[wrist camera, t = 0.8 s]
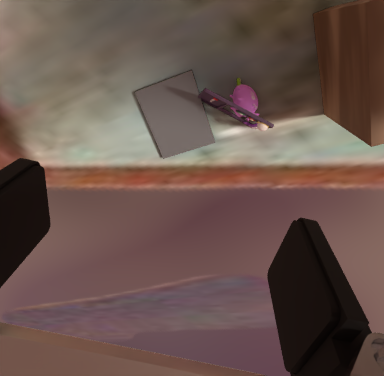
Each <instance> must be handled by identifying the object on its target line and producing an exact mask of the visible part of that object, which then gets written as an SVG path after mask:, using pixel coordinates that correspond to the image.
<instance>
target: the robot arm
mask: <svg viewBox="0 0 384 376" xmlns="http://www.w3.org/2000/svg"><path fill="white" fill-rule="evenodd" d="M49 228H50V216H49V207H48V198H47V189H46V180H45V171H44V168H43V167H42V166H40V164H39V162H37V161H32V160H28V159H23V158H20V159H17V160H16V161H14V162H13V163H11V164H10V165H8V166H6V167H5V168H3V169H2V170H0V288H1V286H2V285H3V284H4V283H5V282H6V281H7V279H8V278H9V277H10V276H11V275H12V274H13V272H14V271H15V270H16V269H17V268H18V267H19V265H20V264H21V263H22V262H23V261H24V260H25V258H26V257H27V256H28V255H29V254H30V253H31V251H32V250H33V249H34V248H35V247H36V245H37V244H38V243H39V242H40V241H41V240H42V238H43V237H44V236H45V235H46V234H47V232H48V231H49ZM268 283H269V288H270V293H271V298H272V304H273V309H274V314H275V319H276V324H277V329H278V334H279V340H280V345H281V350H282V355H283V360H284V365H285V368H286V370H287V371H288V372H290V374H291V376H384V334H382V333H372V332H371V330H370V328H369V326H368V324H369V322H368V320H367V318H366V316H365V314H364V312H363V310H362V308H361V306H360V304H359V302H358V300H357V298H356V296H355V294H354V292H353V290H352V288H351V286H350V285H349V282H348V281H347V279H346V277H345V275H344V273H343V271H342V269H341V267H340V265H339V263H338V261H337V259H336V257H335V255H334V253H333V251H332V249H331V247H330V245H329V244H328V241H327V239H326V238H325V236H324V234H323V232H322V230H321V228H320V226H319V224H318V222H317V221H314V220H309V219H305V218H299V219H298V220H297V221H296V220H294V221H293V222H292V224H291V226H290V228H289V230H288V232H287V234H286V236H285V238H284V240H283V242H282V244H281V246H280V248H279V250H278V252H277V254H276V256H275V258H274V260H273V262H272V264H271V266H270V268H269V270H268ZM0 376H265V375H262V374H257V373H252V372H247V371H242V370H237V369H232V368H228V367H223V366H217V365H213V364H208V363H203V362H198V361H193V360H188V359H184V358H179V357H174V356H169V355H164V354H159V353H154V352H149V351H143V350H139V349H133V348H129V347H124V346H119V345H114V344H109V343H104V342H99V341H94V340H89V339H84V338H79V337H73V336H68V335H63V334H58V333H53V332H48V331H43V330H38V329H32V328H27V327H22V326H17V325H12V324H7V323H1V322H0Z"/></svg>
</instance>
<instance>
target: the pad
mask: <svg viewBox="0 0 384 376" xmlns="http://www.w3.org/2000/svg"><path fill="white" fill-rule="evenodd" d="M135 95H136V97H137V99H138V101H139V104H140V106H141V108H142V111H143V113H144V115H145V118H146V120H147V122H148V124H149V127H150V129H151V131H152V134H153V136H154V138H155V141H156V143H157V145H158V147H159V150H160V152H161V154H162V157H163V159H164V158H167V157H170V156H174V155H177V154H180V153H183V152H186V151H190V150H193V149H196V148H199V147H202V146H206V145H209V144H212V143H215V140H214V137H213V134H212V131H211V128H210V125H209V122H208V119H207V116H206V112H205V109H204V106H203V103H202V101H201V98H198V96H199V91H198V88H197V85H196V82H195V78H194V75H193V72H192V70H190V71H188V72H185V73H183V74H180V75H177V76H175V77H172V78H169V79H167V80H164V81H161V82H159V83H156V84H154V85H151V86H148V87H146V88H143V89H140V90H138V91H135Z"/></svg>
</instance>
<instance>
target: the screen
mask: <svg viewBox="0 0 384 376" xmlns="http://www.w3.org/2000/svg"><path fill="white" fill-rule="evenodd" d="M313 19H314V28H315V37H316V46H317V54H318V63H319V72H320V81H321V90H322V99H323V107H324V115H326V116H327V117H329V118H330V119H332V120H333V121H335V122H336V123H337V124H339V125H340V126H342V127H343V128H345V129H346V130H348V131H349V132H351V133H352V134H354V135H355V136H356V137H358V138H359V139H361V140H362V141H364V142H365V143H367V144H368V145H370V146H371V147H372V146H376V145H380V144H384V0H357V1H353V2H349V3H345V4H341V5H337V6H333V7H330V8H327V9H324V10H322V11H319V12H317V13H314V14H313Z"/></svg>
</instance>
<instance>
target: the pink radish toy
mask: <svg viewBox="0 0 384 376" xmlns="http://www.w3.org/2000/svg"><path fill="white" fill-rule="evenodd" d="M240 82H242V80H241V81H240V78H237V86H236V88H235V89H234V91H233V95H229V96H230V97H231V98H233V102H231V101H229V100H227V99H225V98H223V97H221V96H220V95H218V94H216V93H214V92H212V91H210V90H208V89H206V88H205V89H204V90H203V91H202V92H201V93H200V94H199V96H198V98H201V101H203V102H205V103H207V104H209V105H210V106H212V107H214V108H216V109H218V110H220V111H222V112H224V113H226V114H228V115H230V116H231V117H233V118H235V119H237V120H239V121H241V122H243V123H244V124H246V125H247V126H250V127H251V128H254V129H257V128H258V129H259V130H261V131H265V130H266V129H267V128H273V126H274V124H272V123H270V122H268V121H266V120H264V119H263V118H261V117H259V116H258V115H259V114H257V113H255V111H256V109H257V108H258V98H257V95H256V93H255V91H254V90H253V89H252V88H251V87H249V86H247V85H241V83H240ZM227 105H230V106H232V107H230V109H232V110H234V112H235V114H236V115H235V114H233V113H231V112H229V111H227V110H225V109H223V108H222V107H225V106H227ZM246 118H247V119H246ZM244 119H246V120H248V121H249V120H251V121H256V122H257V123H256V124H252V123H250V122H248V121H246V120H244ZM257 120H258V121H260V122H258V121H257Z"/></svg>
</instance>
